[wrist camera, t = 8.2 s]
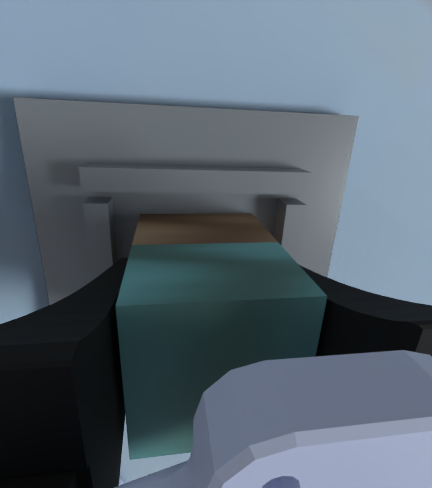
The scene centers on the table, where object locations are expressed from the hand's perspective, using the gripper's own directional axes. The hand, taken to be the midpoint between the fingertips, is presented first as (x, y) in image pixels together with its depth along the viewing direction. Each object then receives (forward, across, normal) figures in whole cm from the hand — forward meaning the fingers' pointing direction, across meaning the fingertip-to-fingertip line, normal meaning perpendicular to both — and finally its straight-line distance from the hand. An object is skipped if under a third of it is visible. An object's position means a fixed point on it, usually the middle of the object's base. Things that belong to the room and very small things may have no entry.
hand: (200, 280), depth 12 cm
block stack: (+2, 0, 0) cm, 2 cm away
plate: (+2, 0, 0) cm, 2 cm away
